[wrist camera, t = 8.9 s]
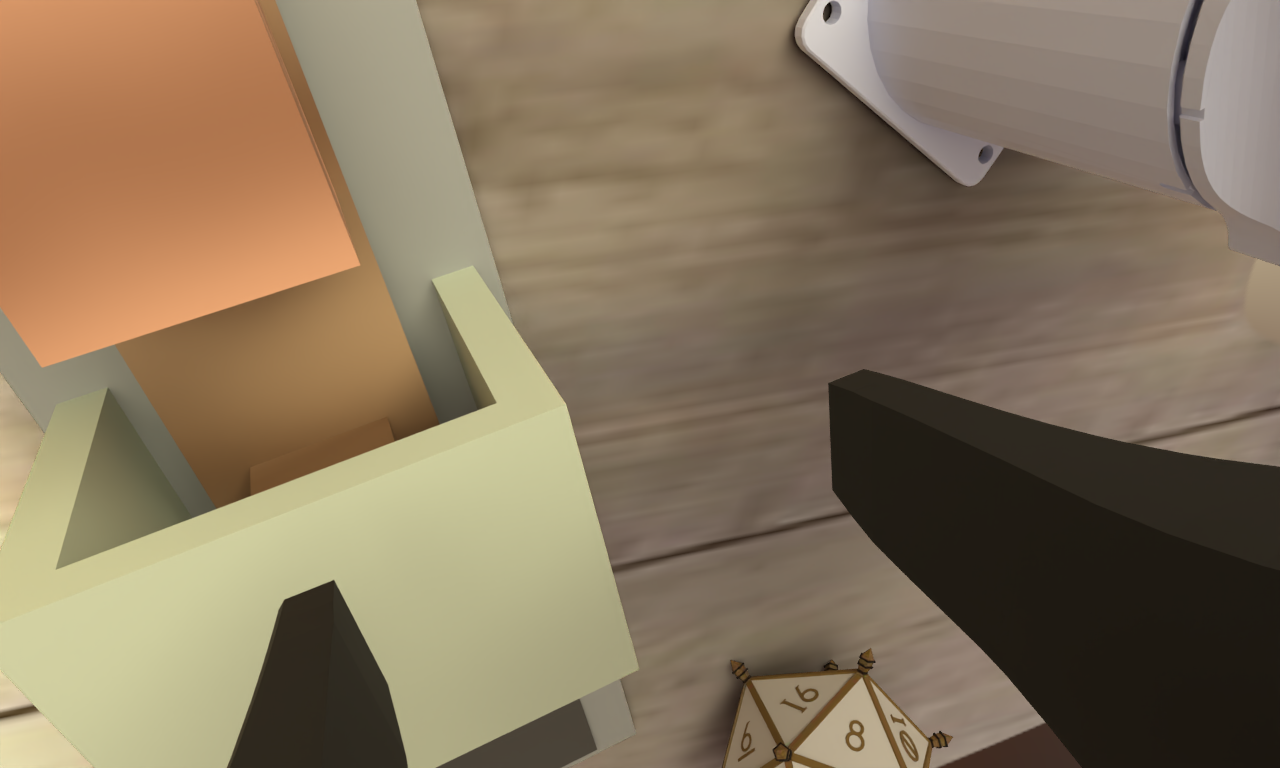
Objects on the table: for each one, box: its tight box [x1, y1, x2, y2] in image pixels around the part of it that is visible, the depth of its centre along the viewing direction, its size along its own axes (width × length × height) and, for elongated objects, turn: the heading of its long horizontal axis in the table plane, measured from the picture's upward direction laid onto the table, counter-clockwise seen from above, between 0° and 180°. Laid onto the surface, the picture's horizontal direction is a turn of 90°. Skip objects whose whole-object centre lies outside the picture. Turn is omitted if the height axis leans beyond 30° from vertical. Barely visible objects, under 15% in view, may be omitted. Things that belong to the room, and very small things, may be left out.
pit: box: [436, 699, 597, 768], centre depth 27 cm, size 4×7×1 cm, turn 101°
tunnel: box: [0, 266, 639, 768], centre depth 17 cm, size 7×9×7 cm
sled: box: [0, 0, 440, 509], centre depth 12 cm, size 21×5×6 cm, turn 11°
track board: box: [0, 0, 636, 768], centre depth 20 cm, size 31×10×1 cm, turn 11°
